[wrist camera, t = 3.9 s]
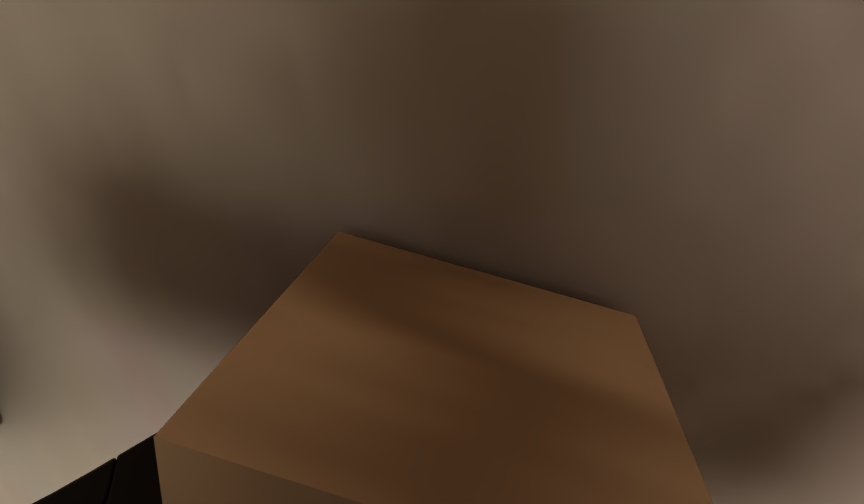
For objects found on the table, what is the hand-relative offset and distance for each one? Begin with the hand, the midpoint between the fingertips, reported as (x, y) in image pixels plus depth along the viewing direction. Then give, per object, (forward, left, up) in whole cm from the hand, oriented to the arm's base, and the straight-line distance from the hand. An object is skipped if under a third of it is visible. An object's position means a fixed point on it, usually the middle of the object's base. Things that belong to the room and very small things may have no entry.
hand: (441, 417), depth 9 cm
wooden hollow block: (0, 0, -1) cm, 1 cm away
